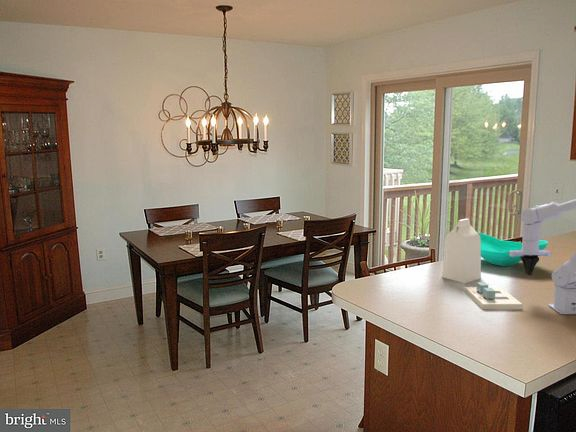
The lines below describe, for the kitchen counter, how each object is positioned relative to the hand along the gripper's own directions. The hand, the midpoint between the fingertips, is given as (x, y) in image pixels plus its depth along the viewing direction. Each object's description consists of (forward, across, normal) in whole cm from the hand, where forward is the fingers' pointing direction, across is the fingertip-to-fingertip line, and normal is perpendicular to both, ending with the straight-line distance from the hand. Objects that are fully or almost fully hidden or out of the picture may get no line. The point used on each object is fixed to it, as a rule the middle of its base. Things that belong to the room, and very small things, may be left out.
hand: (528, 274), depth 186 cm
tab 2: (+7, +17, +5) cm, 19 cm away
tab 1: (+7, +17, -1) cm, 18 cm away
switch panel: (+9, +14, +2) cm, 17 cm away
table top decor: (+10, -10, -50) cm, 52 cm away
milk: (+10, +16, -28) cm, 34 cm away
